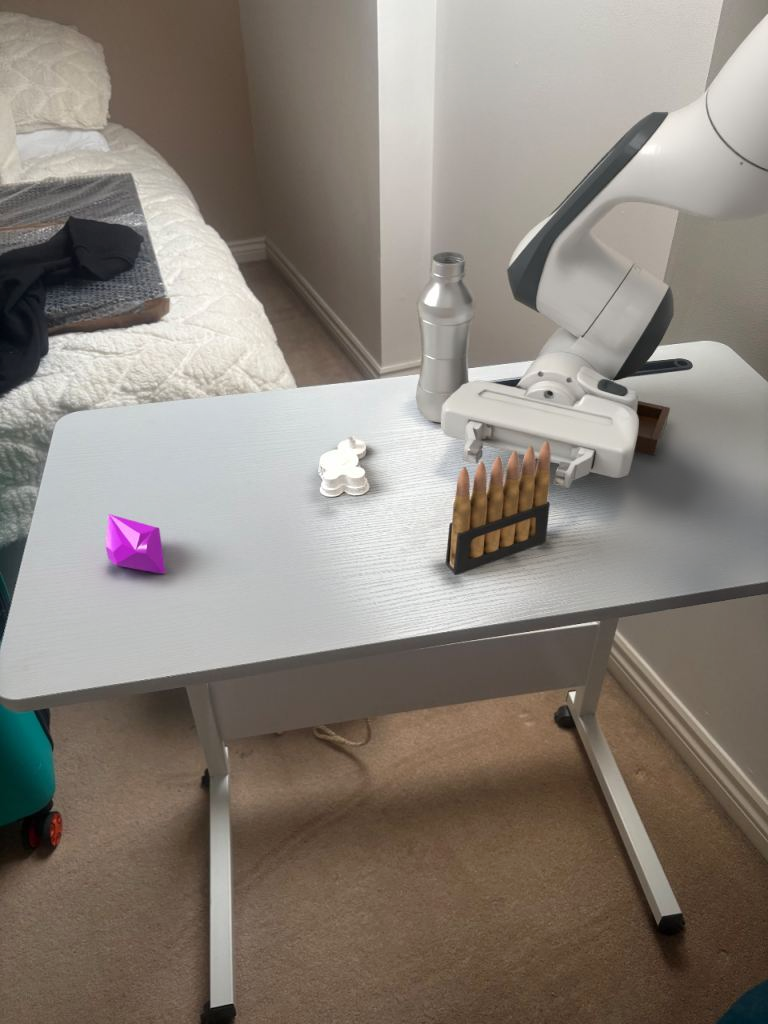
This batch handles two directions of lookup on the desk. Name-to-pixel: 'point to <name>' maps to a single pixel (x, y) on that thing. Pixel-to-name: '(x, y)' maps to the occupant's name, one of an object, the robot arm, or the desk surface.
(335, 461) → the white lobed figurine
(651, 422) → the tray
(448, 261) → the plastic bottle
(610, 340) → the robot arm
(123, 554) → the crystal
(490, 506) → the ammunition clip
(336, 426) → the desk surface
